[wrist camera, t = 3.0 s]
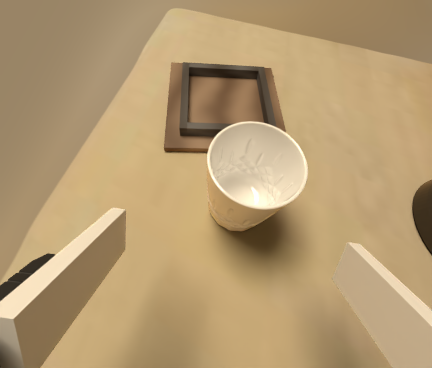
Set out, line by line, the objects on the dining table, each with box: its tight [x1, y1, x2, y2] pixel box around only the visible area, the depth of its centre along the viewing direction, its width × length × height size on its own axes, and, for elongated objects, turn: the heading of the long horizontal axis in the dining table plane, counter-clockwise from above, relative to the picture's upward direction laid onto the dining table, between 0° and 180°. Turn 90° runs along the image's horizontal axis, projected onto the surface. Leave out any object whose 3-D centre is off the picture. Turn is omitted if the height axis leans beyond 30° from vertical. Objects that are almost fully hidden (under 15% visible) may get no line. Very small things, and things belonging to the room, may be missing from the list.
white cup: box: [207, 121, 308, 231], centre depth 20 cm, size 8×8×10 cm
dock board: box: [164, 62, 286, 152], centre depth 30 cm, size 17×17×2 cm
